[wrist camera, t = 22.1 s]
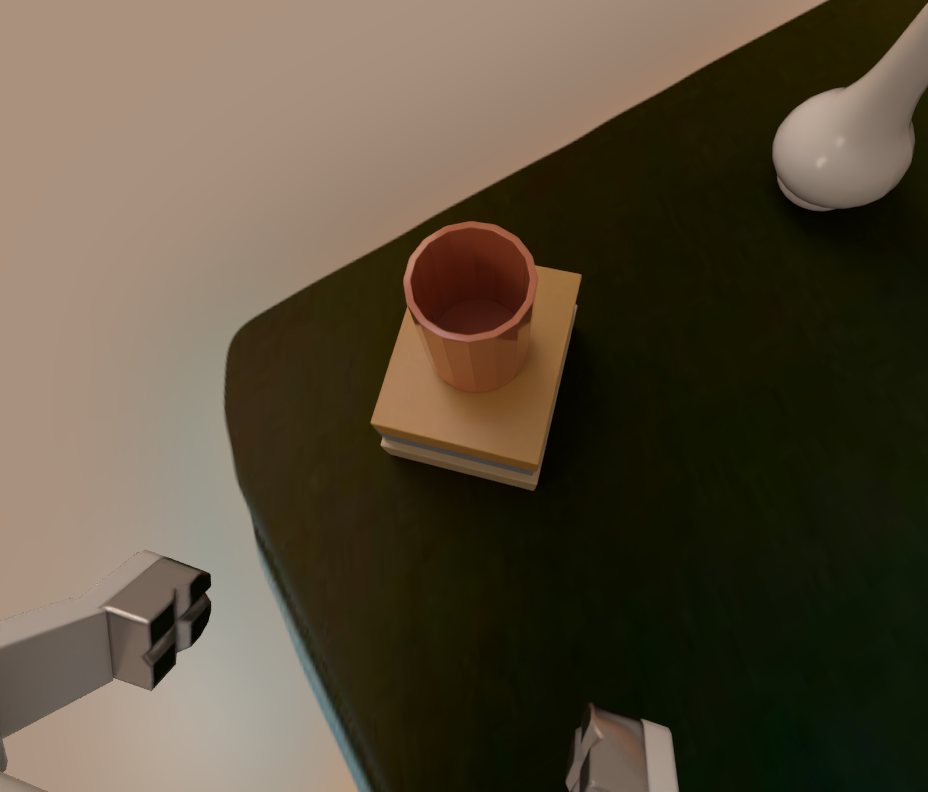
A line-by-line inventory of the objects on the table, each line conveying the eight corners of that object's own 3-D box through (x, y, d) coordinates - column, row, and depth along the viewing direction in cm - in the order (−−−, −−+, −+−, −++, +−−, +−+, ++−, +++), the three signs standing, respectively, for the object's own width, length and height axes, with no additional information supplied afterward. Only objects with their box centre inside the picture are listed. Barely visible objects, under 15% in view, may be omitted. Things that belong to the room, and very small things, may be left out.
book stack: (572, 323, 42) (589, 265, 34) (534, 491, 38) (542, 472, 30) (437, 295, 43) (422, 233, 35) (389, 454, 40) (359, 427, 32)
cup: (492, 281, 34) (488, 200, 26) (549, 357, 32) (563, 294, 24) (408, 332, 33) (380, 264, 26) (462, 413, 32) (449, 366, 24)
